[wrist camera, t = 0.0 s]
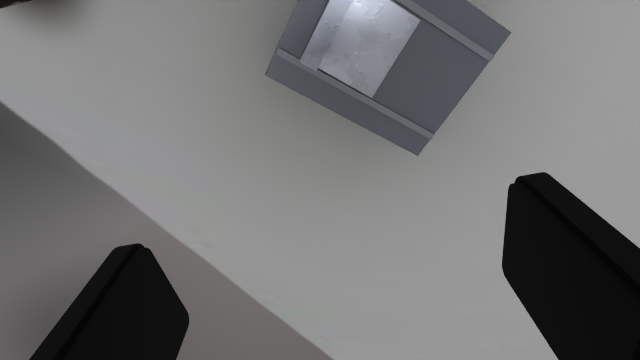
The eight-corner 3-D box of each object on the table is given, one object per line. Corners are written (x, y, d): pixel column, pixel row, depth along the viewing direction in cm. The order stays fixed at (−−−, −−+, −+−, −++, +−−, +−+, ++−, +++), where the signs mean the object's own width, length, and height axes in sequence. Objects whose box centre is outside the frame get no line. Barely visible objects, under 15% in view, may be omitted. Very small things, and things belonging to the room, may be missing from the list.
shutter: (342, -30, 28) (345, -32, 25) (417, 19, 30) (427, 22, 27) (300, 55, 31) (299, 62, 29) (370, 94, 33) (375, 104, 30)
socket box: (335, -79, 31) (339, -90, 26) (487, 26, 35) (514, 33, 30) (270, 63, 37) (263, 75, 32) (406, 137, 41) (418, 157, 36)
